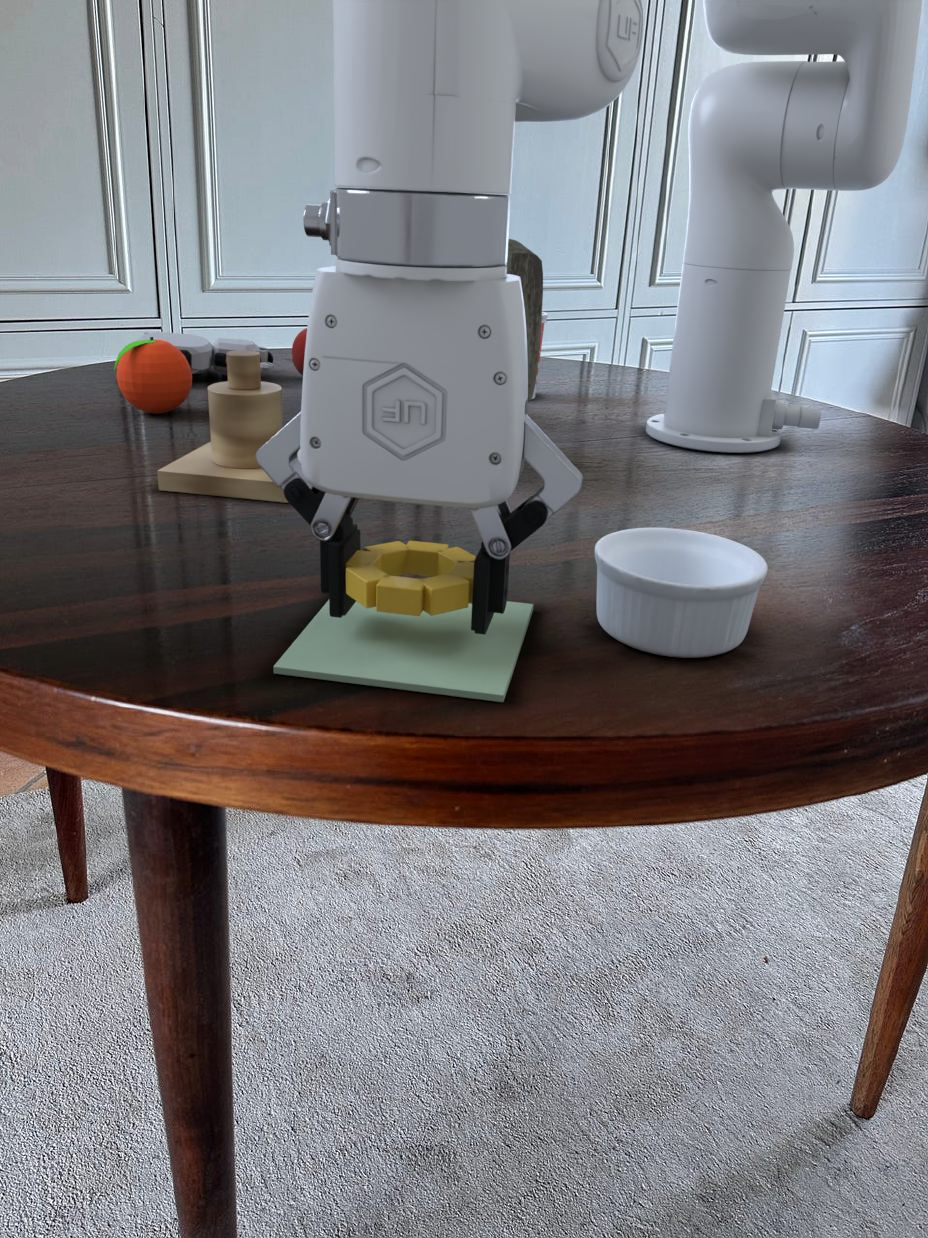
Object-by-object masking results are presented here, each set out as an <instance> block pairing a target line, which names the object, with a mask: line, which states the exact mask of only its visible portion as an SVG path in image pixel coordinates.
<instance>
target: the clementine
mask: <svg viewBox="0 0 928 1238" xmlns="http://www.w3.org/2000/svg"><path fill="white" fill-rule="evenodd" d="M115 371H116V375H115V376H116V381H117V386H118V389H119V391H120V392H121V395H122V397H124V399H125V400H126V401H127V402H128V403H129V404H130V405H131V406H133V407H135V408H136V409H138V410H140V411H142V412H145V413H147V414H153V415H154V414H157V415H158V414H159V415H160V414H166V413H169V412H171V411H174V410H176V409H177V408H178V407H180V406H181V405H182V404H183V403H184V402H185V401H186V399H187V398H188V397H189V395H190V391H191V389H192V387H193V386H192V385H193V374H192V373H191V368H190V365H189V363H188V361H187V359H186V357H185V356H184V355H183V353H182V352H181V351H180V350H179V349H178V348H176V347H175V346H174V345H172V344H171V343H169V342H167V341H163V340H153V337H150V339H148V340H140V341H137V340H134V341H132V342H129V343H128V344H126V345H124V347H123V348H122V349H121V350H120V351H119V352H118V354H117V356H116V359H115V362H114V368H113V372H115Z"/></svg>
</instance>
